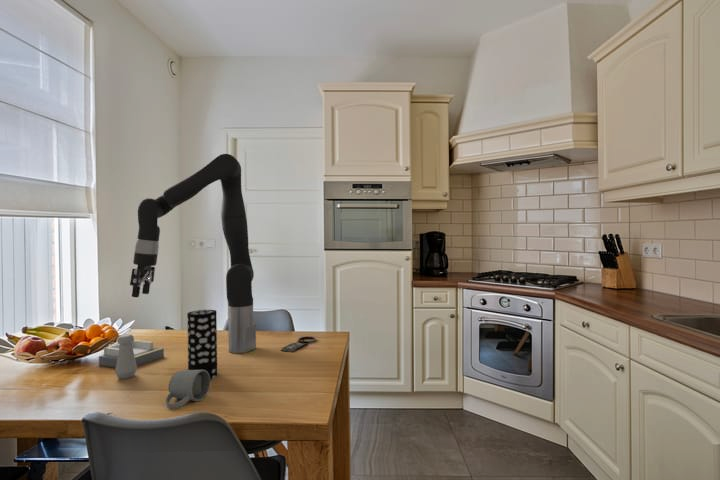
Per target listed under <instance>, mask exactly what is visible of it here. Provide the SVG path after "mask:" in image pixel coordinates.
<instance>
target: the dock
mask: <svg viewBox="0 0 720 480" xmlns="http://www.w3.org/2000/svg"><path fill="white" fill-rule="evenodd" d="M119 347H120V344H118V343H117V344H114V345H110V346H106V347H103V351H104V352H103V354H102V355H99V356H98V365H99V366H104V367H110V368H116V365H117V359H118V353H119ZM132 347H133V352H134V356H135V361H136V365H137V367H138V366H141V365H145V364H147V363H151V362H152V361H156V360H158V359H162V358H164V357H165V352H164V350H165V349H164V347H154V341H147V340H138V339H134V341H133V342H132Z"/></svg>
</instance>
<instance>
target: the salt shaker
mask: <svg viewBox="0 0 720 480" xmlns="http://www.w3.org/2000/svg"><path fill="white" fill-rule="evenodd" d="M134 340H135V338H134V335H133V334H122V335H120V336H118V337H117V344H120V347H119V353H118V359H117V365H116V367H115V374H116V377H117V378H118V380H127V379H131V378H132V377H134V376H135V375H136V372H137V370H138V366H137V365H136V361H135V356H134V352H133V347H132V342H133V341H134Z"/></svg>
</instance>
